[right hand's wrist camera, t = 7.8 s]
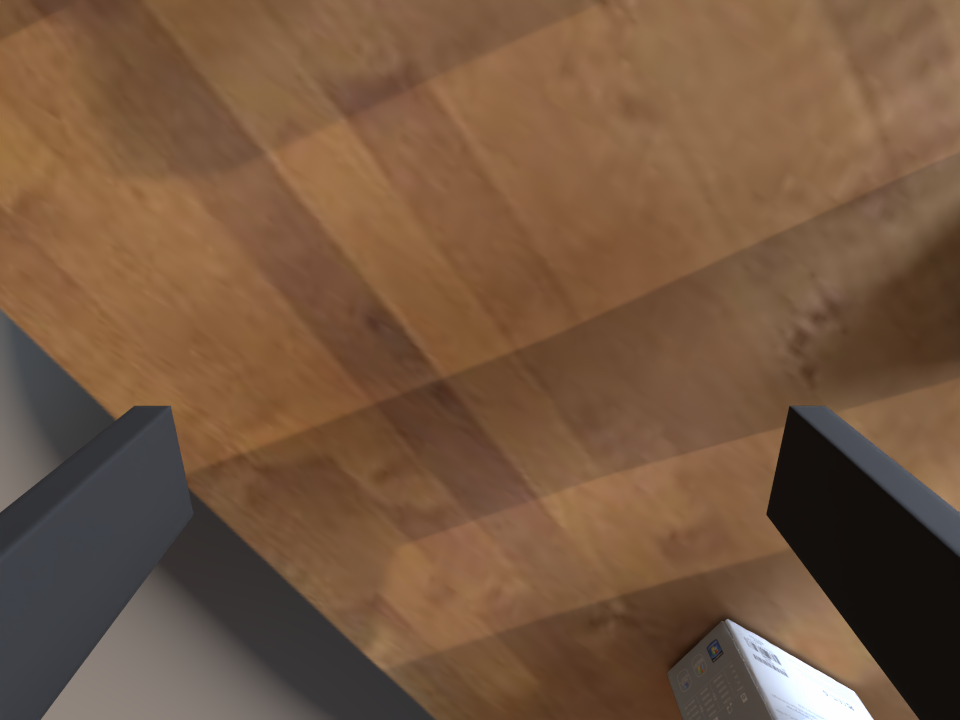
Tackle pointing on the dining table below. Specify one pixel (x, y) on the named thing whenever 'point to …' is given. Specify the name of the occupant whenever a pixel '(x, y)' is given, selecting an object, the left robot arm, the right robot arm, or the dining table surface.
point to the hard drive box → (755, 682)
